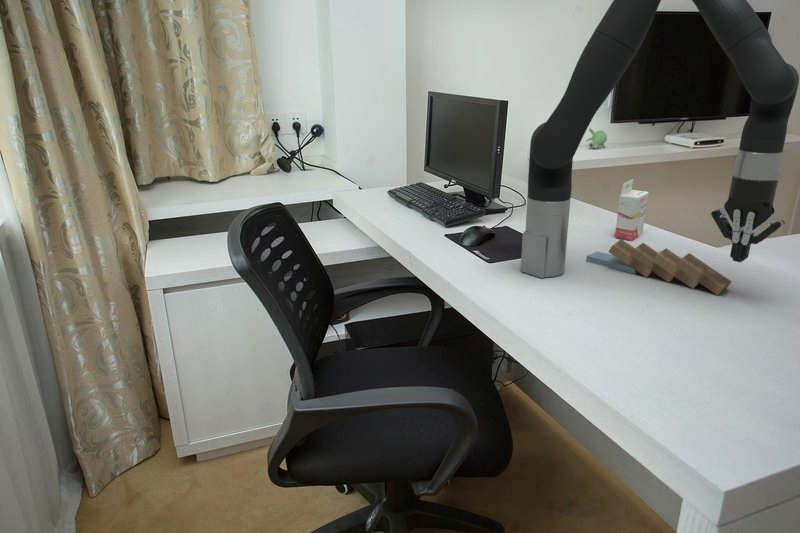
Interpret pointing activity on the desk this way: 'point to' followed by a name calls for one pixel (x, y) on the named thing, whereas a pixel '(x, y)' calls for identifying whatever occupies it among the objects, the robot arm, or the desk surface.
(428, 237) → the desk surface
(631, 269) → the end tile
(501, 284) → the desk surface
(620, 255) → the tile
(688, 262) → the tile
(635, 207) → the ink cartridge box
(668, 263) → the tile
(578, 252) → the desk surface
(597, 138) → the frog
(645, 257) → the tile
